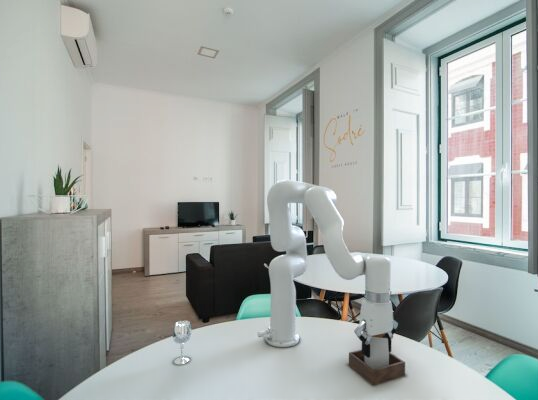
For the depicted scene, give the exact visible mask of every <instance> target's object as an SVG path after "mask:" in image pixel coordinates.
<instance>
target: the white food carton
mask: <svg viewBox="0 0 538 400" xmlns="http://www.w3.org/2000/svg"><path fill="white" fill-rule="evenodd" d="M365 338H366V337H365ZM369 344H370V357H369V358H368V357H366V356H365V355H364V363H366V364H367V365H368V366H370V367H371V368H372V369H373V370H374V369H377V368H380V367H384V366H388V365H389V348H388V338H376V337H371V339H370V341H369Z"/></svg>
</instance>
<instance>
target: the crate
mask: <svg viewBox="0 0 538 400" xmlns="http://www.w3.org/2000/svg"><path fill="white" fill-rule="evenodd" d="M348 367H350V368H352V369H353V371H355V372H356V373H357V374H359V375H360V376H361V377H362V378H364V379H365V380H366V381H367V382H369V383H370V384H371V385H372V386H375V385H378V384H382V383H385V382H387V381H391V380H394V379H399V378H401V377H404V376H406V361H404V360H403V359H401V358H400V357H398V356H397V355H394V353H392V352H389V365H388V366H384V367H380V368H377V369H374V370H373V369H372V368H371V367H370V366H368V365H367V364H366V363H364V355H363V354H362V349H359V350H353V351H350V352H348Z"/></svg>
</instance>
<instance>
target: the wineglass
mask: <svg viewBox="0 0 538 400" xmlns="http://www.w3.org/2000/svg"><path fill="white" fill-rule="evenodd" d="M172 329H173V330H172V340H173V342H174V343H175V344H177V345H179V348H180V357H177V358H175V359H174V361H173V363H174V364H175V365H178V366H179V365H185V364H187V363H188V362H189V361H190V358H189V357H187V356H184V355H183V354H184V353H183V352H184V346H185V345H184V344H187V343H188V342H190V340H191V338H192V333H193V329H192V323H191V321H189V320H179V321H176V322H175V323H174V326H173V328H172Z"/></svg>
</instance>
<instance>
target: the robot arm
mask: <svg viewBox="0 0 538 400" xmlns="http://www.w3.org/2000/svg"><path fill="white" fill-rule="evenodd" d="M337 200H338V197H337V195H336V192H334V190H333V189H331V188H329V187H325V186H321V185H317V184H312V183H309V182H304V181H298V180H293V179H282V180H281V179H280V180H278V181H276V182H275V183H274V184H272V185H271V187H270V188H269V190H268V193H267V196H266V204H267V210H268V221H269V235H270V237H269V238H270V245H271V247H272V249H273V250H274V251H276V252H279V253H280V252H281V253H282V252H285V253H284V254H281V255H278V256H276V257H274V258H273V259H271V261H270V263H269V265H268V276H269V282H270V283H269V284H270V313H269V314H270V315H269V326H267V329H265V330H260V331H257V334H256V335H257V338H263V340H265V342H267V344H269V345H270V346H274V347H277V348H289V347H293V346H295V345H296V344H298V343H299V342H300V334H298V333H297V332H296V316H297V313H296V311H297V289H296V285H295V282H294V279H296V278H298V277H300V276H302V275H304V274H305V273H306V272H307V269H308V250H307V239H306V234H305V232H304V231H303V229H302V228H301V227H299V226H298V225H295V224H294V225H293V222H292V213H291V210H290V208H289V206H288V204H290V203H291V204H301V205H302V204H303V205H306V207H307V209H308V211H309V213H310V215H311V216H312V218H313V220H314V222H315V224H316V225H317V227H318V229H319V230H320V232H321V236H322V237H321V238H322V245H323V249H324V252H325V255H326V258H327V259H328V261H329V263H330V265H331V266H332V269H333V270H334V271H335V274H337V275H338V277H340V278H341V279H343V280H346V281H351V280H354V279H356V278H357V277H361V276H364V277H365V278H364V299H362V302H361V306H360V312H359V325H357V327H356V328H355V329H354V332H353V333H354V334H355V335H356V337H357V338H358V339H359V341H360V342H361V350H362V354H363V355H365V356H366V357H368V358H369V357H370V344H369V341H370V339H371V337H372V336H374V335H379V334H383V333H384V335H383V338H388V348H389V352H390V353H392V340H393V339H394V335H395V333H396V329H397V328H398V325H399V322H397V321H396V320H395V319H394V311H393V305H392V300H391V296H392V290H391V267H392V266H391V259H390V258H389V257H387V256H385V255H372V254H367V253H363V252H361V251H360V252H359V251H358V252H357V251H355V252H350V251H349V249H348V247H347V245H346V243H345V241H344V240H345V239H344V237H343V229H344V226H345V221H344V219H343V217H342V215H341V214H340V212H339V211H338V209H337V207H336V204H337ZM366 334H367V337H366ZM365 337H366V338H365Z"/></svg>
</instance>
